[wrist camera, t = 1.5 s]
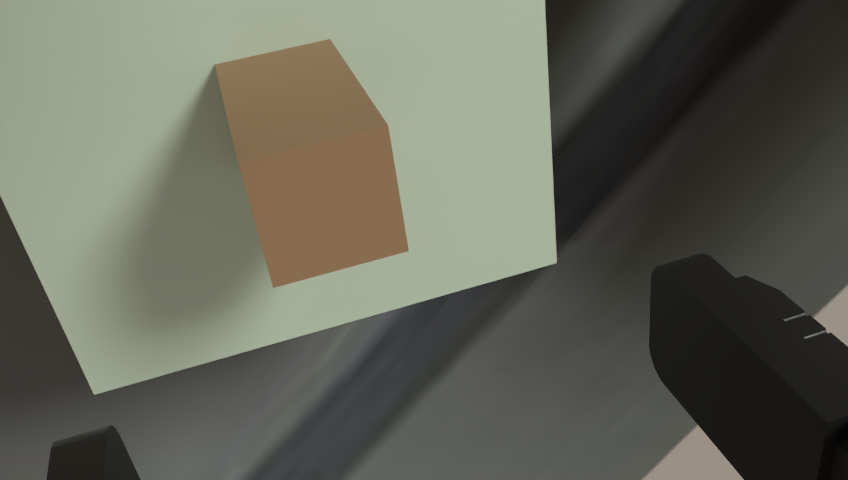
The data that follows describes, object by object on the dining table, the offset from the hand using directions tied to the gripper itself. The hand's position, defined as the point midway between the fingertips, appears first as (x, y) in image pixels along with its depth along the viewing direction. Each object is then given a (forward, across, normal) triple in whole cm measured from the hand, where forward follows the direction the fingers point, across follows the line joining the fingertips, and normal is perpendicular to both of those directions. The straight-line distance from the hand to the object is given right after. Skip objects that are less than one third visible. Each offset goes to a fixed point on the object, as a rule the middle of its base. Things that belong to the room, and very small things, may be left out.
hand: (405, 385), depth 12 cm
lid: (+12, 0, 0) cm, 12 cm away
